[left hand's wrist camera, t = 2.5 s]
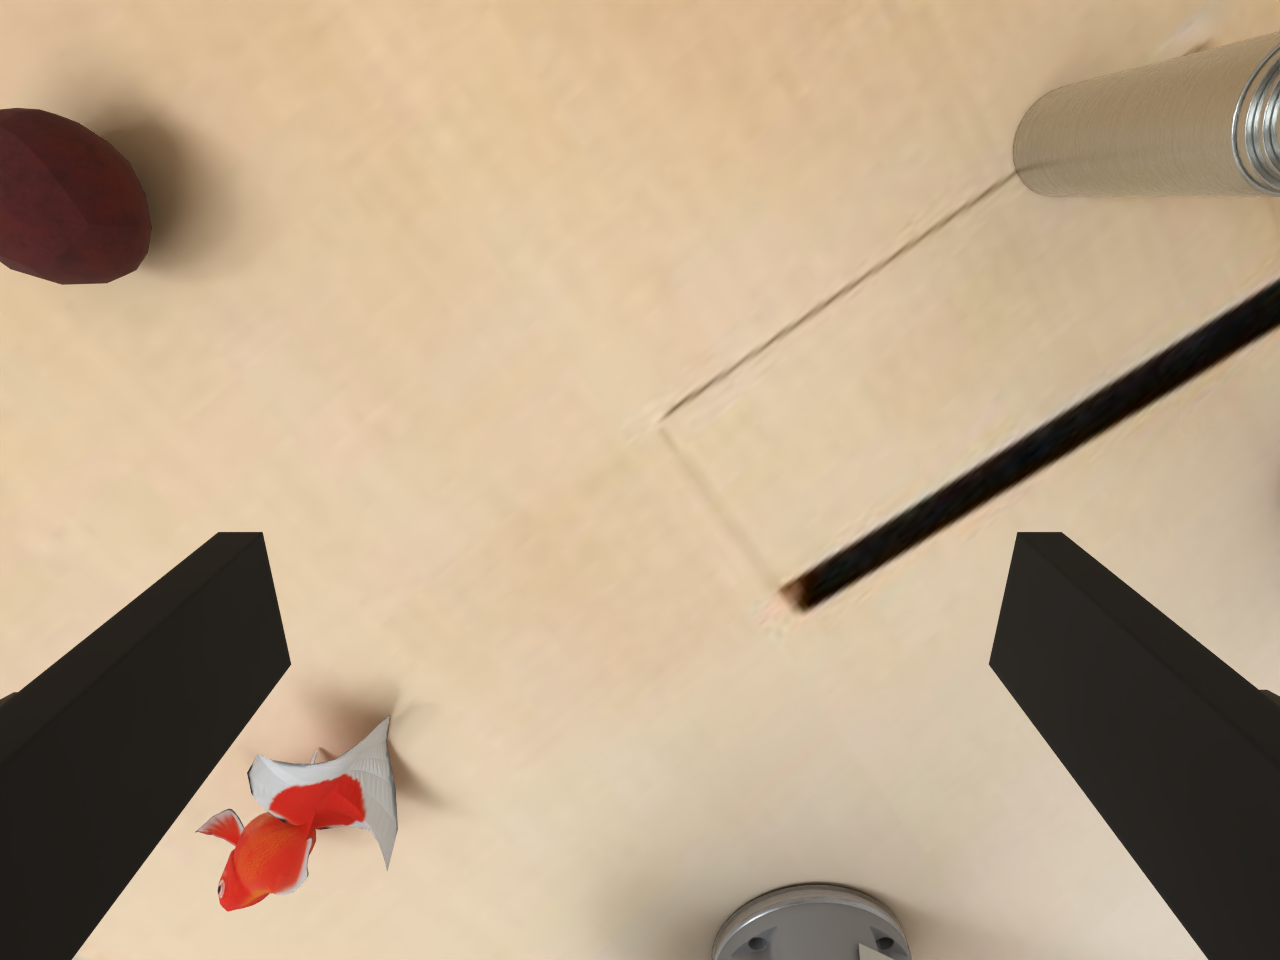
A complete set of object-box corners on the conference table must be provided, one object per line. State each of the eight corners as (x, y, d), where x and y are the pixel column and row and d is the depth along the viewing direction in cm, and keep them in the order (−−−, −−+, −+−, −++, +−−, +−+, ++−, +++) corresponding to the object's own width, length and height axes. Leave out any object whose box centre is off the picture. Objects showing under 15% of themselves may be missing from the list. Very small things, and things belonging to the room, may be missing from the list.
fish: (123, 802, 45) (119, 942, 37) (336, 639, 48) (372, 736, 41) (246, 864, 52) (263, 993, 44) (425, 716, 55) (470, 813, 47)
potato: (96, 84, 34) (-32, 58, 28) (216, 227, 37) (124, 234, 30) (-3, 177, 36) (-147, 173, 29) (118, 308, 38) (10, 332, 32)
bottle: (1117, 75, 34) (1620, -51, 17) (1112, 185, 36) (1561, 176, 18) (1012, 97, 35) (1397, -4, 17) (1012, 205, 36) (1359, 214, 19)
